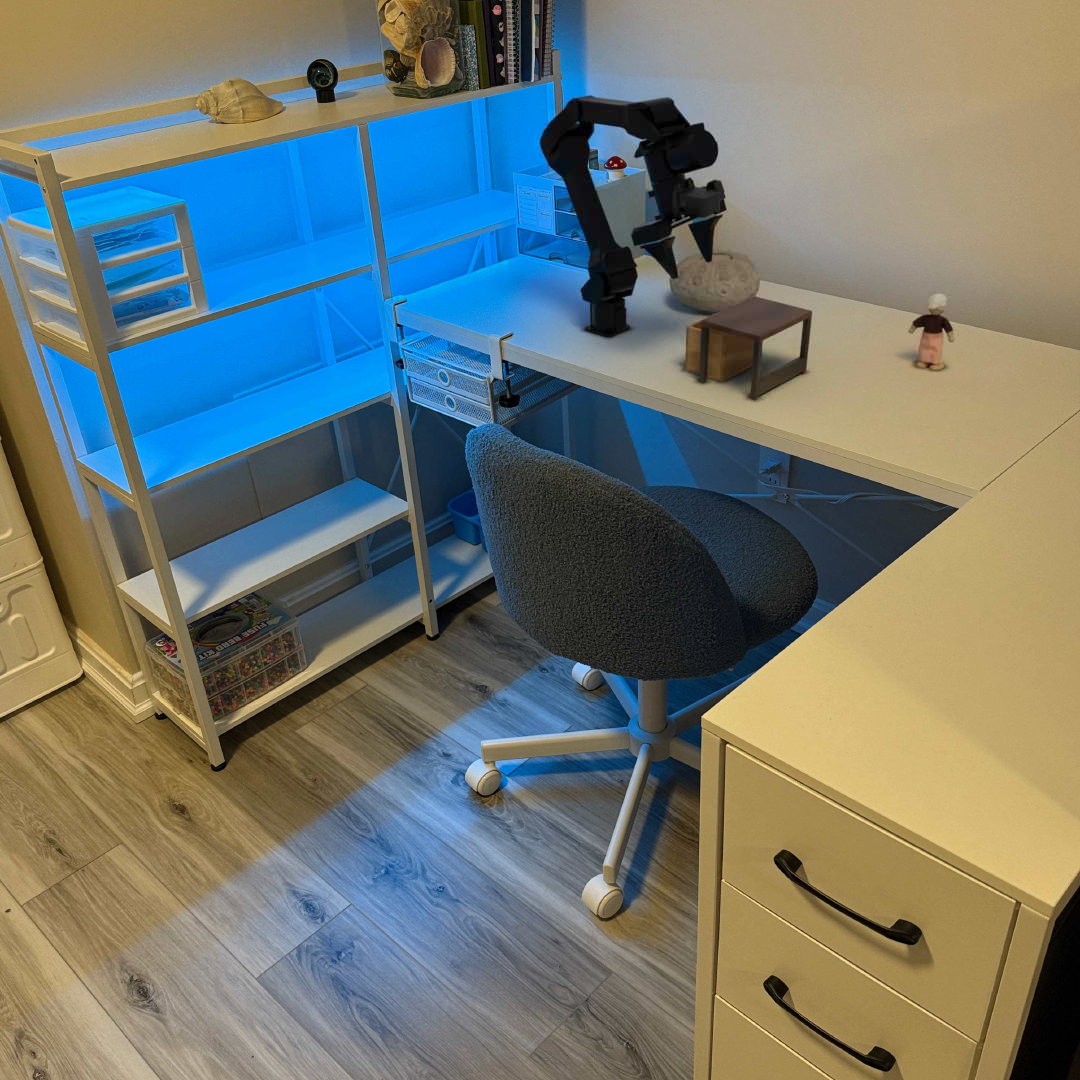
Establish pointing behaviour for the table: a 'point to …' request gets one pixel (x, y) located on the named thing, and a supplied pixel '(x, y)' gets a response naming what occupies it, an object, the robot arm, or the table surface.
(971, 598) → the table surface
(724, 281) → the grey rounded stone
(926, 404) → the table surface
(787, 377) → the desk shelf
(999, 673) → the table surface
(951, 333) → the grandmother figurine
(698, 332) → the wooden box
